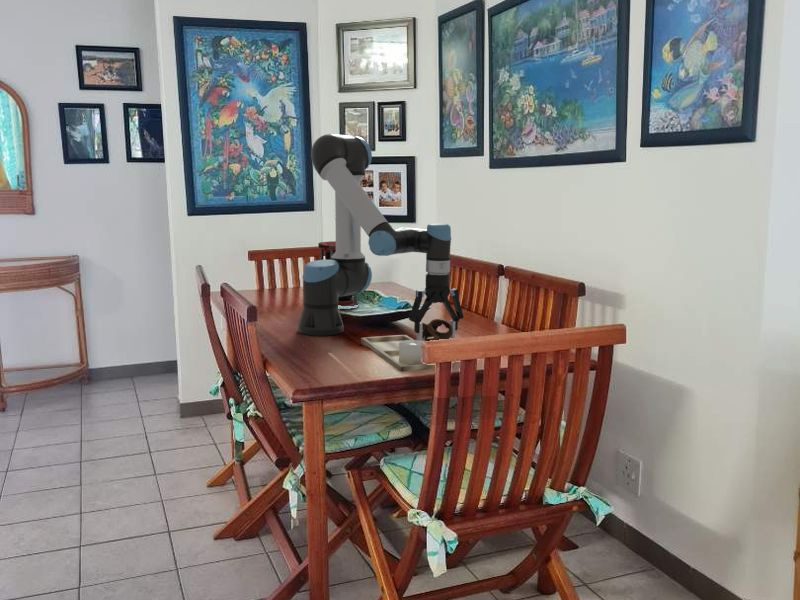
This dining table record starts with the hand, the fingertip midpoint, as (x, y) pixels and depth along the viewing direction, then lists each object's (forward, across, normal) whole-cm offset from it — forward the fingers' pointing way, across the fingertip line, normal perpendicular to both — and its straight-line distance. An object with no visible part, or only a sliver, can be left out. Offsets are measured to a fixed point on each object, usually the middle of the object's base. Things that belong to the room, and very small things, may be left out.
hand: (435, 341), depth 233 cm
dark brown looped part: (+1, 0, +2) cm, 2 cm away
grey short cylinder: (0, -16, -21) cm, 27 cm away
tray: (0, -16, -13) cm, 21 cm away
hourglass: (0, -13, +65) cm, 66 cm away
